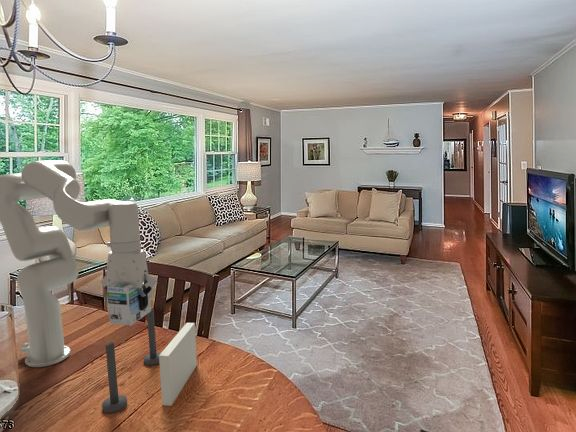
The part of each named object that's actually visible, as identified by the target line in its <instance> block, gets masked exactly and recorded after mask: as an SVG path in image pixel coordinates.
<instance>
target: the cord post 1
mask: <svg viewBox="0 0 576 432" xmlns="http://www.w3.org/2000/svg"><path fill="white" fill-rule="evenodd" d="M105 356H106V367H107V369H106V370H107V376H108V377H107V379H108V388H109V389H108V390H109V397H107V398H106V399H105V400H104V401H102V403H101V409H102V412H103V413H105V414H115V413H119V412H120V411H123V410H124V409H125V408H126V407H127V405H128V397H127V396H125V395H123V394H119V386H118V376H117V375H118V374H117V363H116V349H115V343H114V342H108V343H106V344H105Z"/></svg>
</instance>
